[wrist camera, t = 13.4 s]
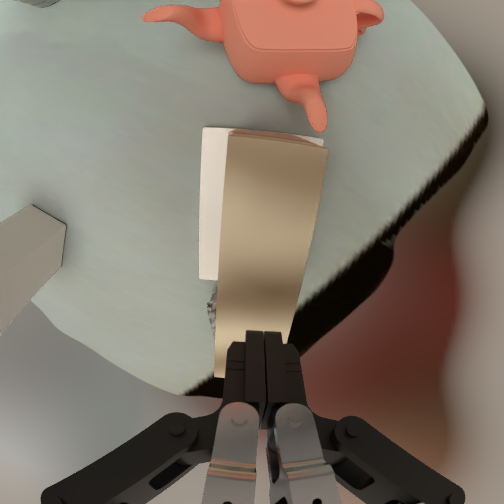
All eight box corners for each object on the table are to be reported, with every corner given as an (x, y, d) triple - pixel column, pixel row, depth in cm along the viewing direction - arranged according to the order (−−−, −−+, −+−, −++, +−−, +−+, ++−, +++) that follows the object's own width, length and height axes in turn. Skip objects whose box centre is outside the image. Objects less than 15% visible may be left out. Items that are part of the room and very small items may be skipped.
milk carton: (67, 224, 28) (-35, 316, 12) (61, 266, 31) (-18, 360, 14) (31, 203, 27) (-70, 275, 10) (28, 245, 30) (-54, 324, 13)
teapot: (295, 129, 24) (323, 135, 14) (178, 50, 20) (134, 15, 10) (379, 38, 19) (438, 10, 9) (269, -38, 15) (275, -97, 5)
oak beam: (235, 131, 16) (228, 135, 11) (307, 140, 16) (328, 149, 11) (220, 331, 23) (214, 376, 18) (272, 335, 23) (275, 381, 19)
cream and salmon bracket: (205, 127, 24) (180, 130, 16) (319, 138, 24) (353, 148, 16) (201, 271, 31) (184, 328, 23) (296, 279, 32) (309, 336, 23)
